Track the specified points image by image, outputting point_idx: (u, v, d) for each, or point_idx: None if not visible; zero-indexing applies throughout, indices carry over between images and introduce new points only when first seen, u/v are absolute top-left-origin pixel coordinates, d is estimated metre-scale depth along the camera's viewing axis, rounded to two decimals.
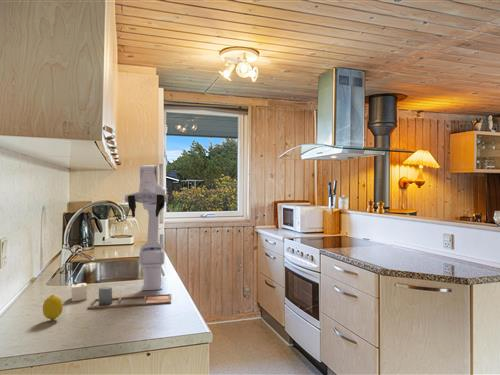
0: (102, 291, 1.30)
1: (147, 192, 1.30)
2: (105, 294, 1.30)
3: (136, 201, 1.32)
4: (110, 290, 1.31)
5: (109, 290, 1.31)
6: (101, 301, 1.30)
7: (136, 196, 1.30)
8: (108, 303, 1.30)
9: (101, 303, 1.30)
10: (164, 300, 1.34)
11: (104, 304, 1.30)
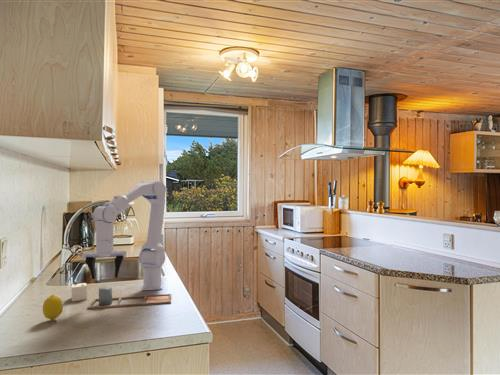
0: (102, 291, 1.30)
1: None
2: (105, 294, 1.30)
3: None
4: (110, 290, 1.31)
5: (109, 290, 1.31)
6: (101, 301, 1.30)
7: None
8: (108, 303, 1.30)
9: (101, 303, 1.30)
10: (164, 300, 1.34)
11: (104, 304, 1.30)
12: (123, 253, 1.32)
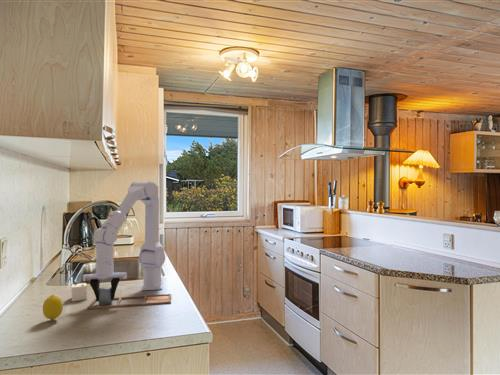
0: (102, 291, 1.30)
1: (105, 277, 1.29)
2: (105, 294, 1.30)
3: None
4: (110, 290, 1.31)
5: (109, 290, 1.31)
6: (101, 301, 1.30)
7: None
8: (108, 303, 1.30)
9: (101, 303, 1.30)
10: (164, 300, 1.34)
11: (104, 304, 1.30)
12: (123, 275, 1.32)
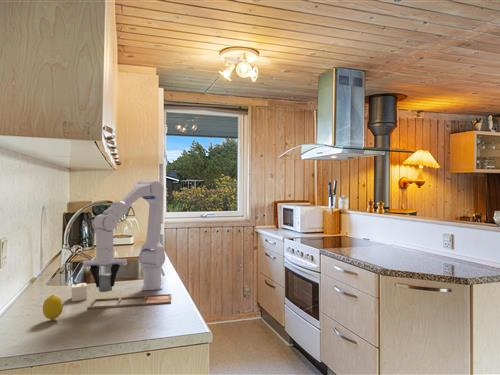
0: (102, 277, 1.30)
1: (105, 264, 1.29)
2: (104, 281, 1.30)
3: None
4: (110, 276, 1.31)
5: (109, 276, 1.31)
6: (101, 287, 1.30)
7: (94, 263, 1.30)
8: (108, 289, 1.30)
9: (101, 289, 1.30)
10: (164, 300, 1.34)
11: (104, 291, 1.30)
12: (123, 261, 1.32)
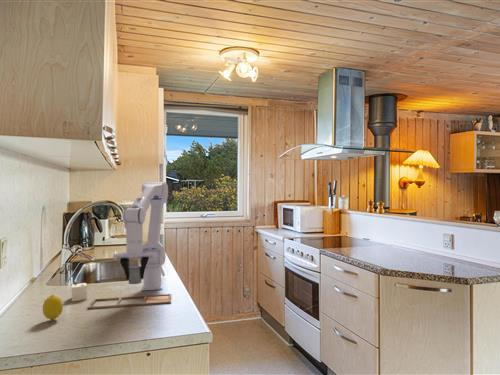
0: (132, 270, 1.32)
1: (135, 256, 1.31)
2: (134, 273, 1.32)
3: None
4: (140, 269, 1.33)
5: (139, 269, 1.33)
6: (131, 279, 1.32)
7: None
8: (138, 281, 1.32)
9: (131, 281, 1.32)
10: (164, 300, 1.34)
11: (134, 283, 1.32)
12: (152, 254, 1.34)
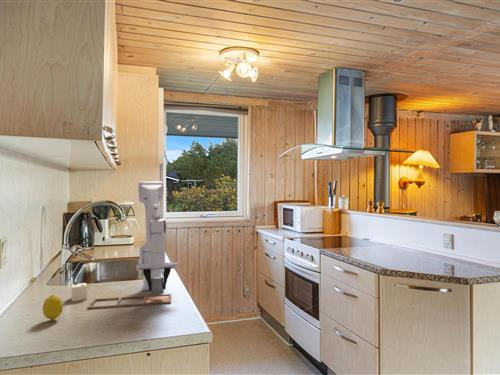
0: (155, 280, 1.33)
1: (158, 267, 1.33)
2: (157, 284, 1.33)
3: None
4: (162, 280, 1.35)
5: (161, 280, 1.34)
6: (154, 290, 1.33)
7: None
8: (160, 292, 1.34)
9: (154, 292, 1.33)
10: (164, 300, 1.34)
11: (157, 294, 1.33)
12: (175, 265, 1.35)
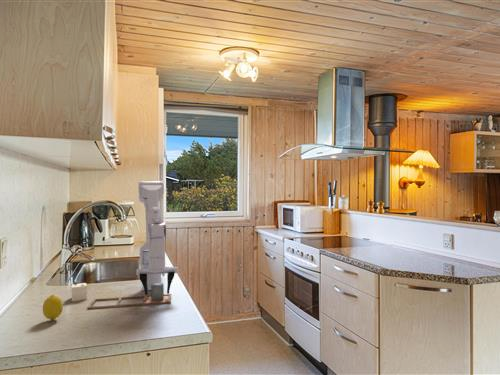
0: (155, 287, 1.33)
1: None
2: (157, 290, 1.33)
3: None
4: (162, 286, 1.35)
5: (161, 286, 1.34)
6: (154, 297, 1.33)
7: (147, 271, 1.34)
8: (160, 299, 1.34)
9: (154, 299, 1.33)
10: (164, 300, 1.34)
11: (157, 300, 1.33)
12: (175, 269, 1.36)
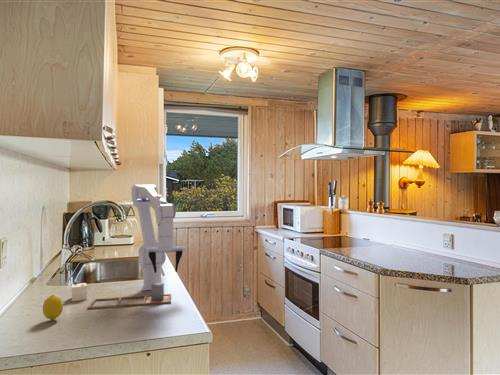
0: (155, 287, 1.33)
1: (166, 250, 1.37)
2: (157, 290, 1.33)
3: None
4: (162, 286, 1.35)
5: (161, 286, 1.34)
6: (154, 296, 1.33)
7: None
8: (160, 298, 1.34)
9: (154, 298, 1.33)
10: (164, 300, 1.34)
11: (157, 300, 1.33)
12: (183, 248, 1.40)
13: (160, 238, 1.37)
